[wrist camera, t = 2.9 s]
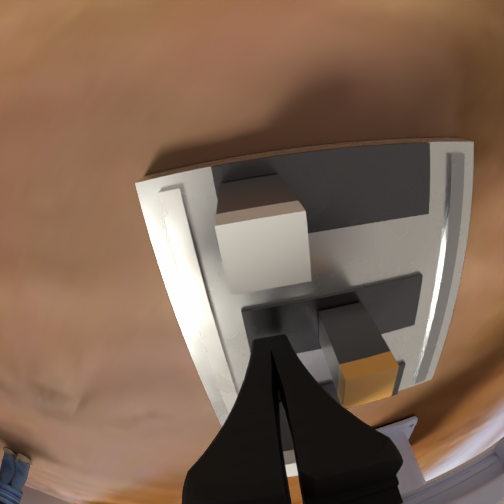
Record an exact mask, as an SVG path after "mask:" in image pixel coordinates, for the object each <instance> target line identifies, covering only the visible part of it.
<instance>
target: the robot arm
mask: <svg viewBox="0 0 504 504" xmlns="http://www.w3.org/2000/svg"><path fill="white" fill-rule="evenodd" d="M278 392H279V394H278ZM279 395H280V399H281V402H282V406H283V409H284V413H285V417H286V420H287V424H288V427H289V431H290V434H291V438H292V443H293V449H294V454H295V460H296V466H297V472H298V477H299V483H300V489H301V495H302V501H303V504H497V503H499V502H500V501H502V500H503V499H504V438H503V439H502V440H501V441H500V442H499V443H498V444H497V445H496V447H495V448H494V449H493V450H491V451H490V452H488V453H486V454H485V455H483V456H481V457H480V458H478V459H476V460H474V461H473V462H471V463H469V464H467V465H465V466H463V467H462V468H460V469H458V470H456V471H454V472H452V473H450V474H448V475H446V476H444V477H442V478H440V479H438V480H435V481H433V482H431V483H429V484H426V482H425V479H424V477H423V474H422V472H421V469H420V467H419V464H418V462H417V460H416V457H415V455H414V452H413V450H412V448H411V445H410V443H409V441H408V440H409V438H410V436H411V434H412V432H413V430H414V427H415V425H416V423H417V421H418V418H417V417H416V416H413V417H410V418H408V419H405V420H402V421H399V422H396V423H393V424H390V425H387V426H384V427H381V428H378V429H374V428H372V427H370V426H369V425H367V424H366V423H364V422H363V421H361V420H360V419H358V418H357V417H356V416H354V415H353V414H352V413H350V412H349V411H348V410H346V409H345V408H344V407H343V406H341V405H340V404H339V403H338V402H337V401H336V400H335V399H334V398H333V397H332V396H330V395H329V394H328V393H327V392H326V391H325V390H324V389H323V387H322V386H321V385H320V384H319V383H318V382H317V381H316V380H315V378H314V377H313V376H312V375H311V374H310V372H309V371H308V370H307V369H306V367H305V366H304V364H303V363H302V362H301V360H300V359H299V357H298V356H297V354H296V353H295V351H294V350H293V348H292V346H291V344H290V342H289V340H288V338H287V336H286V335H285V334H282V335H276V336H271V337H265V338H259V339H254V340H253V341H252V347H251V354H250V359H249V363H248V367H247V370H246V374H245V377H244V380H243V383H242V386H241V389H240V391H239V394H238V396H237V399H236V401H235V403H234V405H233V408H232V410H231V412H230V414H229V416H228V417H227V419H226V421H225V423H224V424H223V426H222V428H221V430H220V431H219V433H218V434H217V436H216V437H215V439H214V440H213V441H212V443H211V444H210V446H209V447H208V448H207V450H206V451H205V452H204V454H203V455H202V456H201V457H200V458H199V460H198V461H197V462H196V463H195V464H194V465H193V466H192V467H191V469H190V470H189V471H188V473H187V475H186V479H185V482H184V486H183V492H182V504H291V498H290V492H289V485H288V479H287V473H286V467H285V461H284V455H283V448H282V441H281V428H280V411H279Z"/></svg>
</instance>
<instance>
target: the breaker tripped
mask: <svg viewBox="0 0 504 504" xmlns="http://www.w3.org/2000/svg"><path fill="white" fill-rule="evenodd" d="M318 317H319V342H320V345H321V348H322V351H323V353H324V356H325V359H326V362H327V365H328V368H329V371H330V374H331V377H332V379H333V382H334V385H335V388H336V391H337V394H338V397H339V400H340V403H341V406H343V407H344V408H345V409H348V408H352V407H355V406H359V405H363V404H366V403H370V402H373V401H376V400H380V399H383V398H386V397H389V396H391V395H392V392H393V388H394V384H395V380H396V377H397V373H398V368H399V365H398V363H397V361H396V360H395V358H394V356H393V354H392V352H391V351H390V349H389V347H388V345H387V344H386V342H385V340H384V339H383V337H382V335H381V333H380V332H379V330H378V328H377V327H376V325H375V323H374V321H373V320H372V318H371V316H370V315H369V313H368V311H367V310H366V308H365V307H364V305H363V303H362V302H360V303H356V304H351V305H346V306H342V307H337V308H332V309H327V310H323V311H318Z"/></svg>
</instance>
